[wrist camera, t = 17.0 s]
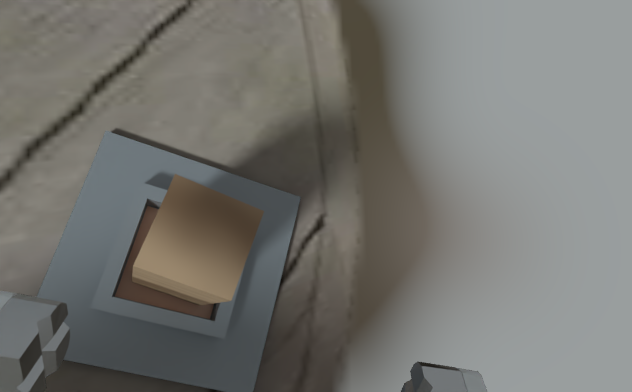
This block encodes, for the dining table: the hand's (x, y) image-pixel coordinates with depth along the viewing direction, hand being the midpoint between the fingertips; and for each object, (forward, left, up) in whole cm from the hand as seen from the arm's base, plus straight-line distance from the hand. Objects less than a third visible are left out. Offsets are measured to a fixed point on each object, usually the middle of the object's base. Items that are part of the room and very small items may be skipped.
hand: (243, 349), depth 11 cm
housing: (+5, +1, -25) cm, 26 cm away
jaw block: (+5, +1, -24) cm, 25 cm away
